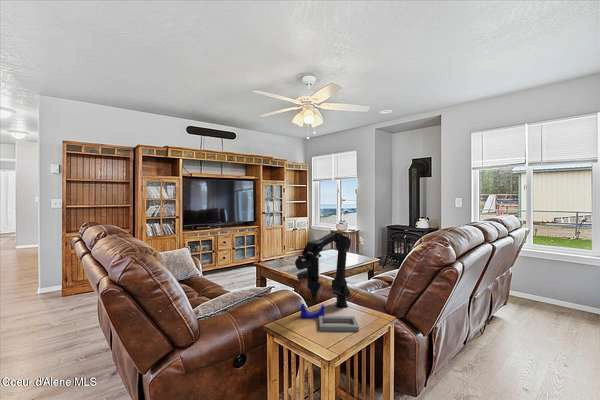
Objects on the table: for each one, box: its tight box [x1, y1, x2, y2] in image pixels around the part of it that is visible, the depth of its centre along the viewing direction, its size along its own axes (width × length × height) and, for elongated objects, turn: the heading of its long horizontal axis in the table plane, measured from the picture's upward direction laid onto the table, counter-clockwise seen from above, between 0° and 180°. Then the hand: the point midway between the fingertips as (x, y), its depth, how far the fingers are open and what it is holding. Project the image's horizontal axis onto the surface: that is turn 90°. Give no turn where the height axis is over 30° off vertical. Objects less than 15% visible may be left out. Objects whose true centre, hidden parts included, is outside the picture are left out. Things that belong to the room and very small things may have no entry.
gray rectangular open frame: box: [318, 315, 360, 332], centre depth 142 cm, size 12×18×2 cm, turn 89°
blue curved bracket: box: [300, 303, 325, 320], centre depth 152 cm, size 12×4×6 cm, turn 85°
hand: (313, 296), depth 151 cm, fingers open, 9 cm apart
